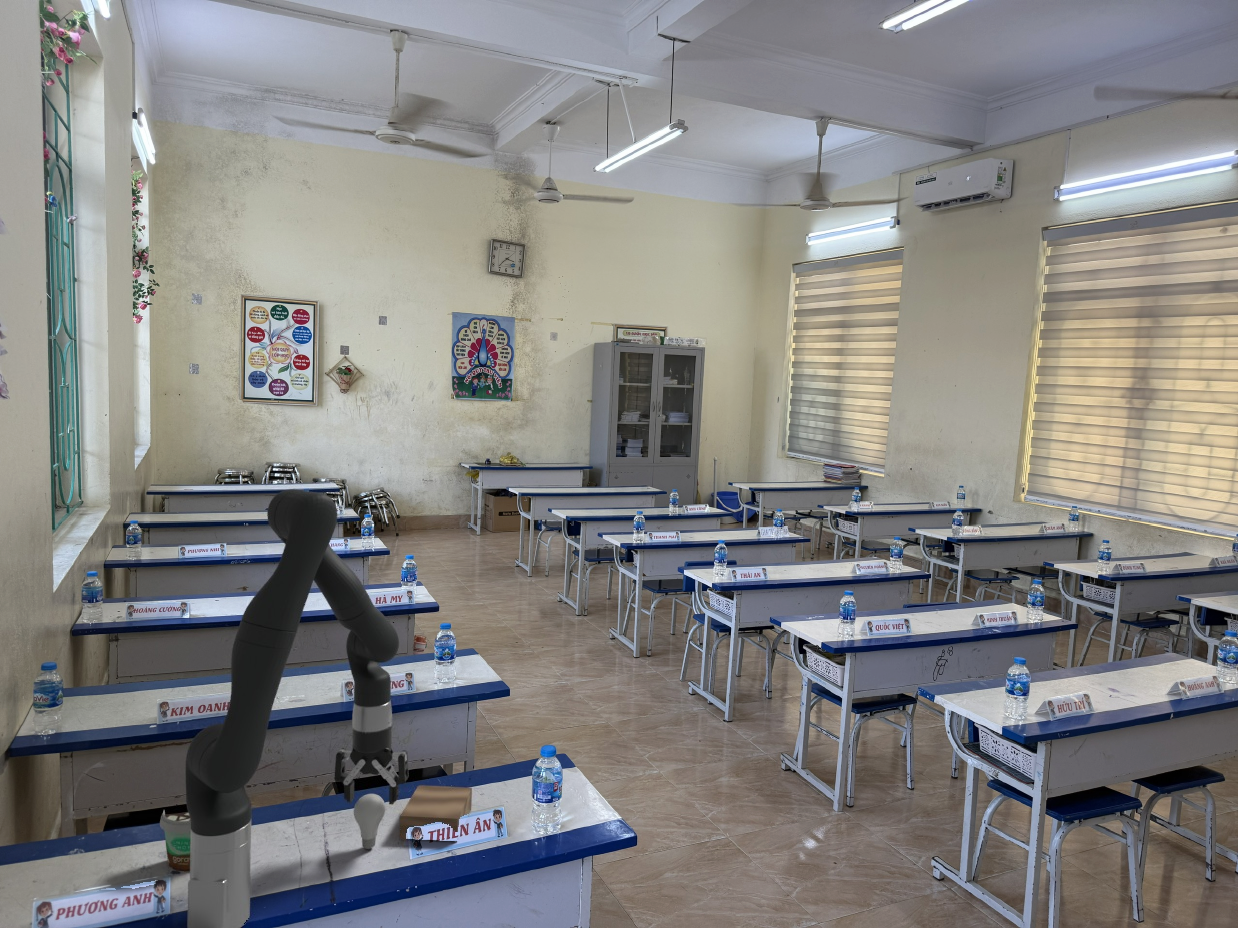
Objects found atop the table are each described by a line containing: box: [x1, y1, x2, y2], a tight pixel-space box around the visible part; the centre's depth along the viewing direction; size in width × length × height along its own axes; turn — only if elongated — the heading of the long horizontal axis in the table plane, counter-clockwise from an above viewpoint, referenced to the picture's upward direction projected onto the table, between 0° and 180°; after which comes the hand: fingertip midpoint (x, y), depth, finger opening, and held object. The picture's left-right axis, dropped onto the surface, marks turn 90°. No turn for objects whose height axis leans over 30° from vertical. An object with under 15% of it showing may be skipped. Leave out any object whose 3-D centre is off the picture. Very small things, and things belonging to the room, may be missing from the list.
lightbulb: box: [353, 793, 386, 850], centre depth 159 cm, size 6×6×11 cm
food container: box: [159, 809, 191, 873], centre depth 150 cm, size 12×6×10 cm, turn 105°
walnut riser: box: [398, 784, 473, 841], centre depth 169 cm, size 14×12×5 cm
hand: (371, 801), depth 159 cm, fingers open, 8 cm apart
